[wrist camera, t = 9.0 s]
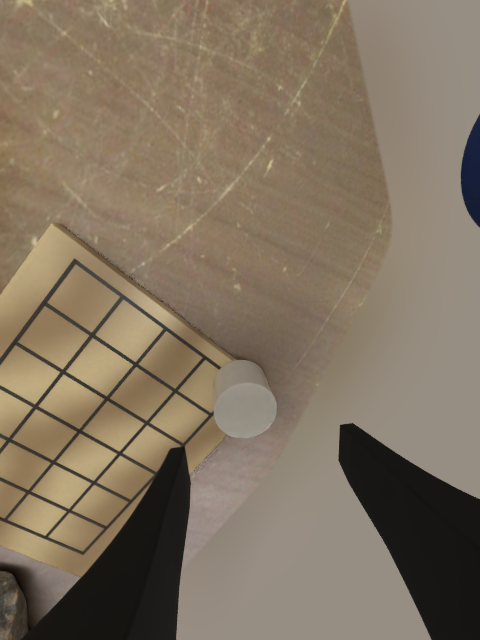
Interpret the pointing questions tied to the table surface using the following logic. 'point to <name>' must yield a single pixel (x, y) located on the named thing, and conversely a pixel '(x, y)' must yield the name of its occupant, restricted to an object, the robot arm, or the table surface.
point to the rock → (12, 609)
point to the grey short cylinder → (243, 400)
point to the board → (91, 400)
